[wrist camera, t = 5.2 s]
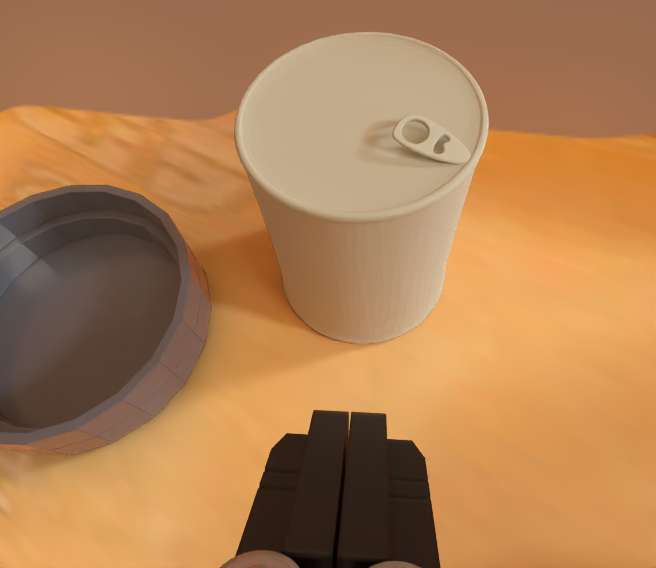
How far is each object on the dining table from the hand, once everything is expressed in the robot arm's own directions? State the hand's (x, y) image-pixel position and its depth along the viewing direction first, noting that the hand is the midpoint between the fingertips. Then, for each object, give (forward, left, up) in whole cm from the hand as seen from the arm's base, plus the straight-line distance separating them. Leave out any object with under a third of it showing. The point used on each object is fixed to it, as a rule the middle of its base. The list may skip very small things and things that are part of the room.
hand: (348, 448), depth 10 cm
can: (-10, -7, -14) cm, 18 cm away
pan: (+2, -17, -14) cm, 22 cm away
